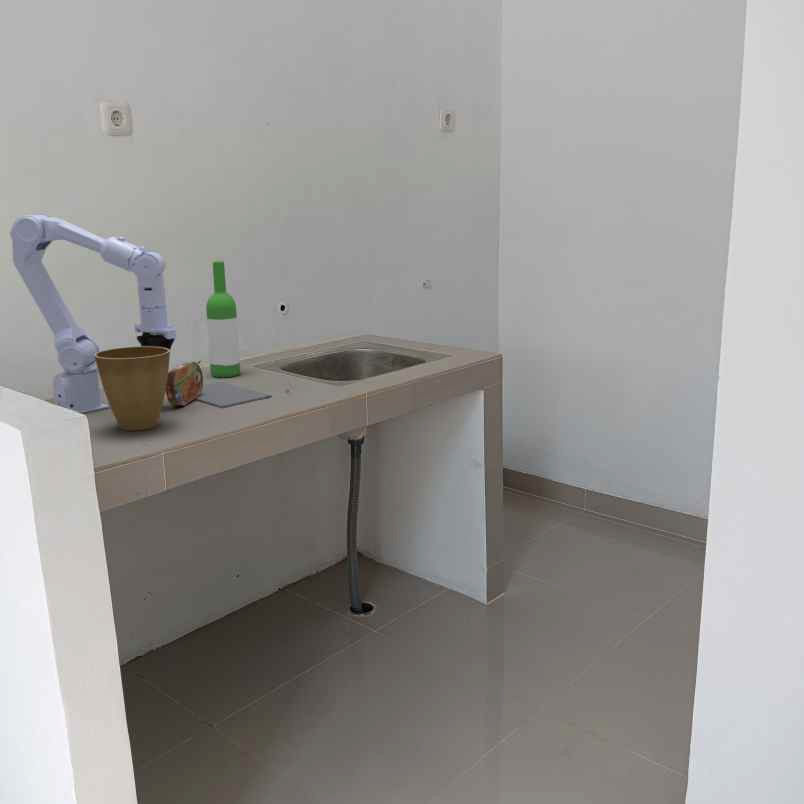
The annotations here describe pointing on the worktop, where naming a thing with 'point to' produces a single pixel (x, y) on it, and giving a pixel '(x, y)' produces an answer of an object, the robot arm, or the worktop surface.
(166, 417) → the worktop surface
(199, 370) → the tin
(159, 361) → the plant pot
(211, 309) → the wine bottle
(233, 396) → the mat
